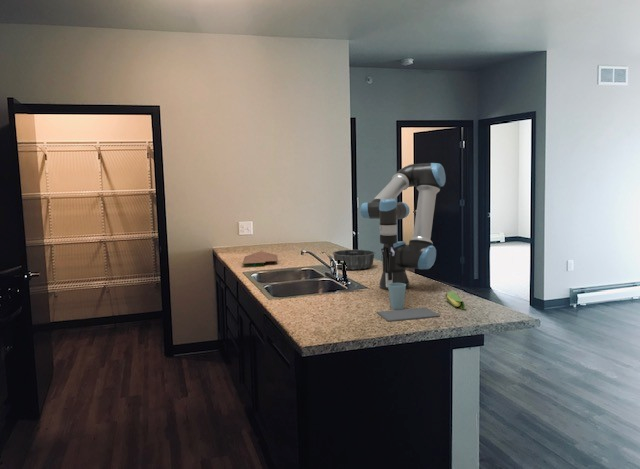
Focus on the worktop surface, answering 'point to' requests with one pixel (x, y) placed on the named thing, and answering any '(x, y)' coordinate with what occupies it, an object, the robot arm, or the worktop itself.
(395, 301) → the cup
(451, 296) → the edible corn
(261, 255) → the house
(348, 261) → the bundt pan
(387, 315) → the mat
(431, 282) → the worktop surface
